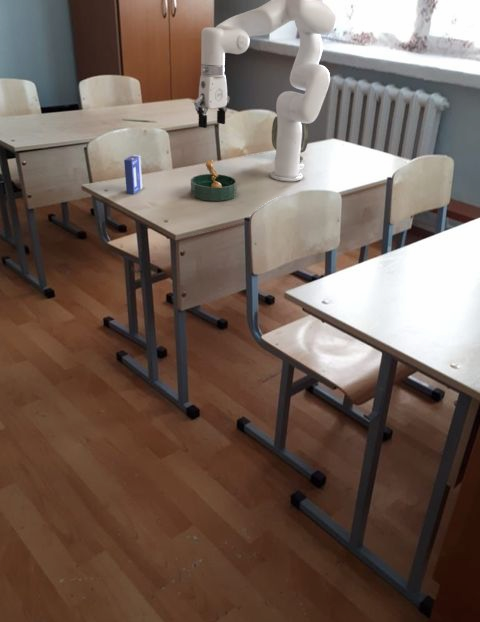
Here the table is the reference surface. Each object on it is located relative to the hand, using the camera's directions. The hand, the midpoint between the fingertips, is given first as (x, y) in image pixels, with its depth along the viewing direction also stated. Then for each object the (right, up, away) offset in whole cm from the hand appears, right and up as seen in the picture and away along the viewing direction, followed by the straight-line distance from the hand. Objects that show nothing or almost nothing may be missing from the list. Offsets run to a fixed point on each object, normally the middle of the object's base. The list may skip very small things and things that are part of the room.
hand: (212, 125), depth 203 cm
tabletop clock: (+28, +7, +57) cm, 63 cm away
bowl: (0, -21, +10) cm, 23 cm away
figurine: (0, -21, +10) cm, 23 cm away
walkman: (-28, -20, +9) cm, 36 cm away
